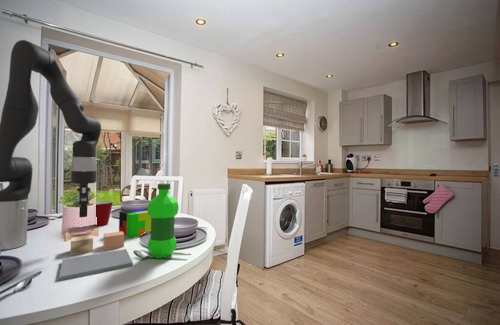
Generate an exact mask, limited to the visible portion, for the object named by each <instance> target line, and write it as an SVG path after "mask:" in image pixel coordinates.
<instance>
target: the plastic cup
mask: <svg viewBox="0 0 500 325" xmlns="http://www.w3.org/2000/svg"><path fill="white" fill-rule="evenodd" d="M94 202H95V203H96V217H97V225H98V226H97V227H103V226H107V225H109V221H110V217H111V213H112V212H111V211H112V207H113V204H114V200H101V201H94Z"/></svg>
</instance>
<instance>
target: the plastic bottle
mask: <svg viewBox="0 0 500 325" xmlns="http://www.w3.org/2000/svg"><path fill="white" fill-rule="evenodd" d="M157 190H158V194H157V195H155V196H154V197H153V198H152V199H151V200H150V201H149V202H148V204H147V211H148V215H149V216H150V217H151V233H150V238H149V239H148V242H147V251H148V253H149V254H151V255H152V256H153V257H154V258H156V259H163V258H162V257H165V258H168V257H170V255H171V254H172V253H173V252H175V251H176V249H177V239H176V236H175V217H176V215H177V214H178V212H179V202H178V200H177V199H176V198H175V197H174V196H172V195H171V194H170V193H169V190H171V183H158V184H157ZM167 256H168V257H167Z"/></svg>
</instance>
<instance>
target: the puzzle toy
mask: <svg viewBox="0 0 500 325" xmlns="http://www.w3.org/2000/svg"><path fill="white" fill-rule="evenodd" d="M118 215H119V217H118V218H119V220H118V232H120V231H123V233H124V237H126V236H127V238H130V239H132V238H131V237H133V238H136V237H135V236H137V237H140V235H141V234H143V233H144V232H147V231H149V230H151V217H150V216H149V215H148V211H147V210H146V209H143V208H137V209H129V210H123V211H119V214H118ZM141 236H142V235H141Z"/></svg>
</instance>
